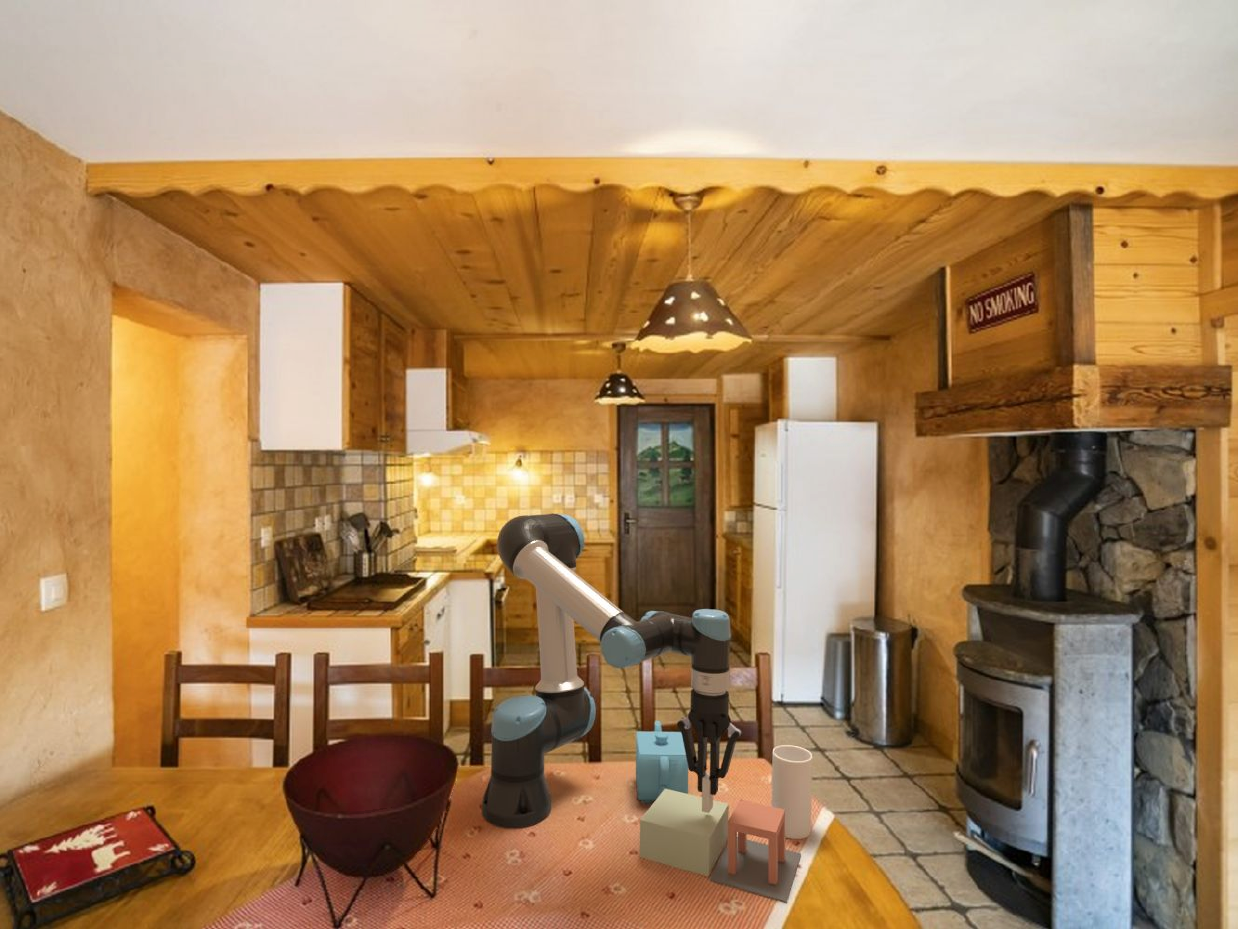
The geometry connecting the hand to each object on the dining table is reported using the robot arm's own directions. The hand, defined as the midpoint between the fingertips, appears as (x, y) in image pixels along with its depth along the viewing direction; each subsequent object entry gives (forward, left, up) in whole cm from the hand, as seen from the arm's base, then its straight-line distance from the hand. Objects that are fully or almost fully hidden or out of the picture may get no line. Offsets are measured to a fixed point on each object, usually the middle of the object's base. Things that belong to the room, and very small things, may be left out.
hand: (707, 808), depth 129 cm
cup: (+13, +17, -9) cm, 24 cm away
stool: (+6, 0, -4) cm, 7 cm away
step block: (-5, 0, -9) cm, 10 cm away
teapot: (-18, +20, -9) cm, 28 cm away
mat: (+10, 0, -9) cm, 13 cm away
